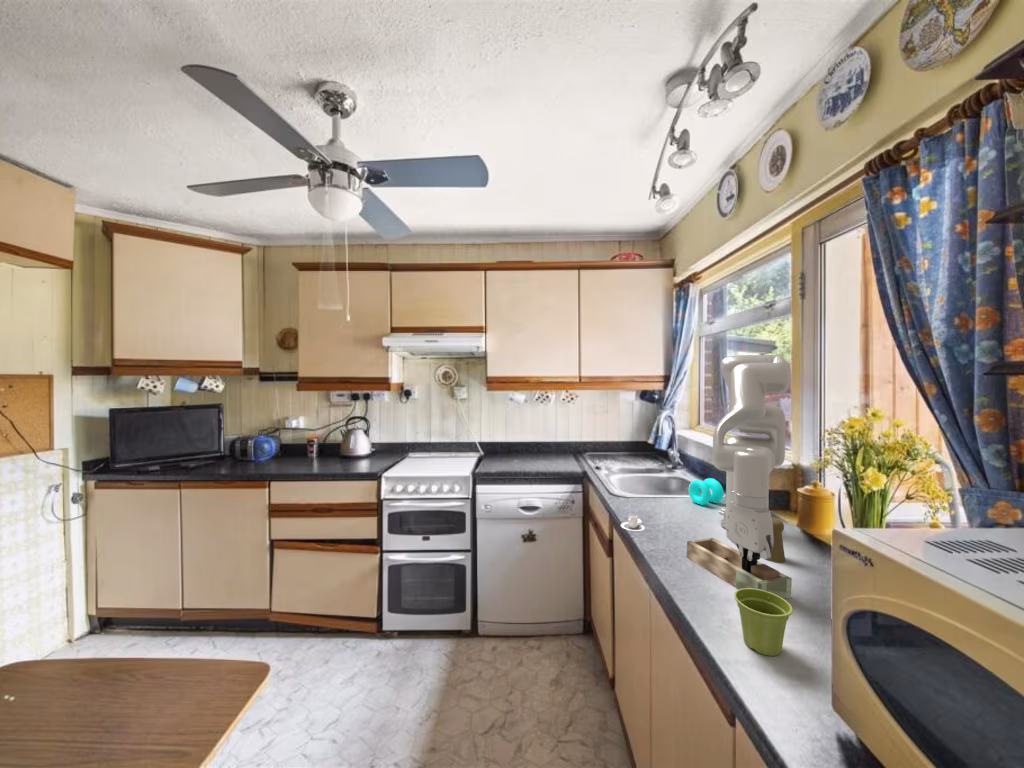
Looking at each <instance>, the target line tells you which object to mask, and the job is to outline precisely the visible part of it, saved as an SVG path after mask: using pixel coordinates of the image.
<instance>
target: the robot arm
mask: <svg viewBox="0 0 1024 768" xmlns="http://www.w3.org/2000/svg"><path fill="white" fill-rule="evenodd" d="M720 370H721V374H722V377H723V380H724V382H725V384H726V386H727V389H728V395H729V397H728V400H729V402H728V413H726V414H725V415H724V416H723V417H722V418H721V419H720V420H719V422H717V424H716V427H715V428H714V431H713V434H712V435H713V437H712V462H713V463H712V464H713V466H714V467H715V468H716V469H717V470H719V471H721V472H725V474H726V476H725V477H726V478H725V479H726V480H725V481H726V482H725V483H726V487H725V489H726V490H725V500H726V501H725V507H722V508H721V509H720V510H718V514H719V515H721V516H723V518H722V519H721V520H720V526H721V527H722V528H724V529H726V531H725V533H726V538H727V539H728V540H729V541H730V542H731V543H732V544H733V545H735V546H736V547H737V550H738V551H739V554H740V556H741V557H742V569H743V570H745V571H746V572H748V573H750V574H751V566H753V565H757V561H759V560H761V559H764V560H766V559H770V558H771V553H770V551H772V550H773V542H774V538H773V524H772V514H771V510H770V509H769V495H770V493H769V492H770V491H769V489H770V485H769V484H770V473H771V472H772V471H774V469H775V468H776V467H780V466H782V465H783V464H784V462H785V456H786V431H787V430H786V429H787V428H786V427H787V426H786V425H787V423H786V422H787V421H786V414H785V412H784V410H783V408H781V407H780V406H777V405H770V404H769V405H767V404H766V393H767V392H768V393H784V392H786V391H787V390H788V389H789V387H790V384H791V373H790V369H789V365H788V364H787V362H786V360H785V357H783V356H782V355H779V354H745V355H743V354H742V355H741V354H739V355H730V356H726V357H724V358H723V359H722V360H721V362H720ZM731 430H732V431H734V432H738V433H742V434H743V433H745V434H746V433H747V434H756V435H758V434H759V435H767V437H766V436H765V437H763V436H755V435H731V436H728V437H727V438H725V436H726V434H728V432H730V431H731Z"/></svg>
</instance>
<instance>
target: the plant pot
mask: <svg viewBox="0 0 1024 768" xmlns="http://www.w3.org/2000/svg"><path fill="white" fill-rule="evenodd" d="M733 597H734V600H735V602H736V603H737V604H736V605H737V607H738V609H739V615H740V622H741V630H742V631H741V632H742V638H743V641H744V643H745V645H746V646H747V647H748V649H753V650H755V651H756V652H758V654H761V655H765V656H771V657H774V656H778V655H779V654H780V653H781V652H782V648H783V644H784V638H785V631H786V627H787V621H788V620H789V617H790V616H791V615H792V614H793V607H792V605H791V603H789V601H787V599H783V598H781V597H780V596H778V595H775V594H773V593H770V592H767V591H764V590H760V589H753V588H743V589H737V590H735V591H734V594H733Z"/></svg>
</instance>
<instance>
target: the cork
mask: <svg viewBox="0 0 1024 768" xmlns="http://www.w3.org/2000/svg"><path fill="white" fill-rule="evenodd" d="M772 524H773V538H774V542H773V550H772V551H770V553H771V558H770V559H765V560H766V561H768V562H772V563H778V564H779V563H785V562H786V557H785V556H786V555H785V548H784V542H783V534H782V533H783V532H784V531H785V526H784V523H783V521H781V520H779V519H778V518H772Z"/></svg>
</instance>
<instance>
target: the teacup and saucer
mask: <svg viewBox="0 0 1024 768" xmlns="http://www.w3.org/2000/svg"><path fill="white" fill-rule="evenodd" d="M627 517H628V521H625V522H622V523H621V524H620V527H621V528H622V529H624V530H626V531H630V532H641V531H644V530H645V529H646V527H645V526H644V525H643V520H642V519H640V518H638V515H635V514H629V515H627ZM625 525H628V526H629V528H632V529H629V528H627V527H625ZM638 526H639V527H640V528H639V529H636V528H637V527H638Z"/></svg>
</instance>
